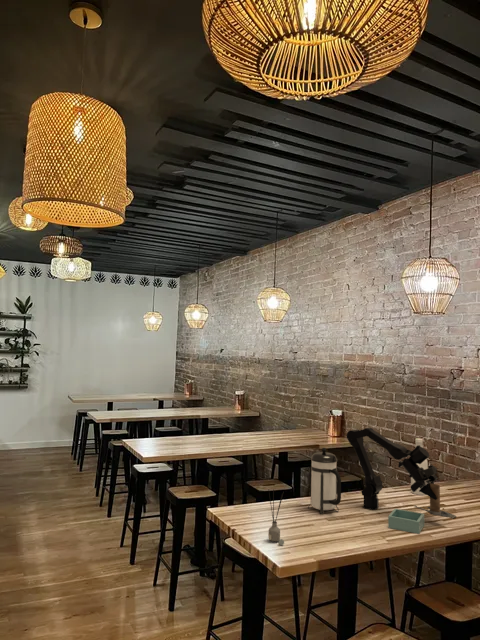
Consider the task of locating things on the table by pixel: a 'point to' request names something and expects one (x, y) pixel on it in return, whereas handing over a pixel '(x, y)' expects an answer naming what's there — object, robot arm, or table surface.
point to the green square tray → (406, 521)
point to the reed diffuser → (275, 525)
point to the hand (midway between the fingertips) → (437, 498)
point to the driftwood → (443, 513)
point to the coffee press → (325, 482)
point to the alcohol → (423, 465)
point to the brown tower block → (435, 503)
